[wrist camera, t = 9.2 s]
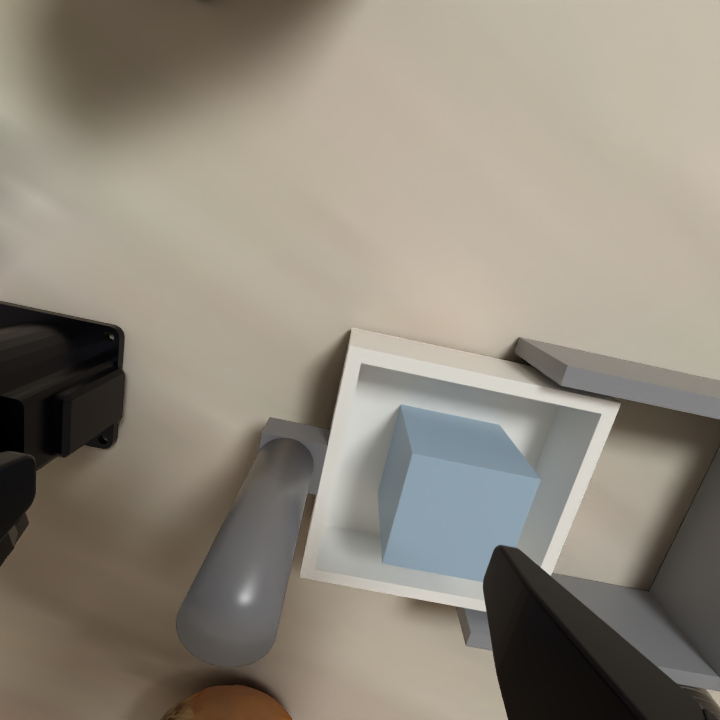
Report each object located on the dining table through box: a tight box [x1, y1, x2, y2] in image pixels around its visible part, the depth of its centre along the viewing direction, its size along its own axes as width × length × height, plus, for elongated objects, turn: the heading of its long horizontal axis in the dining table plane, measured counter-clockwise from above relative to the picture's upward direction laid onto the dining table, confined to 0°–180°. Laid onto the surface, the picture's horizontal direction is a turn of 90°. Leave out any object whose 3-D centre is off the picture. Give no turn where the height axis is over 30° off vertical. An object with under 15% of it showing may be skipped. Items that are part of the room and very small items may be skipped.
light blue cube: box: [378, 404, 541, 582], centre depth 19 cm, size 5×5×5 cm
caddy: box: [176, 327, 621, 667], centre depth 16 cm, size 14×11×12 cm
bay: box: [456, 337, 720, 691], centre depth 20 cm, size 13×14×5 cm
